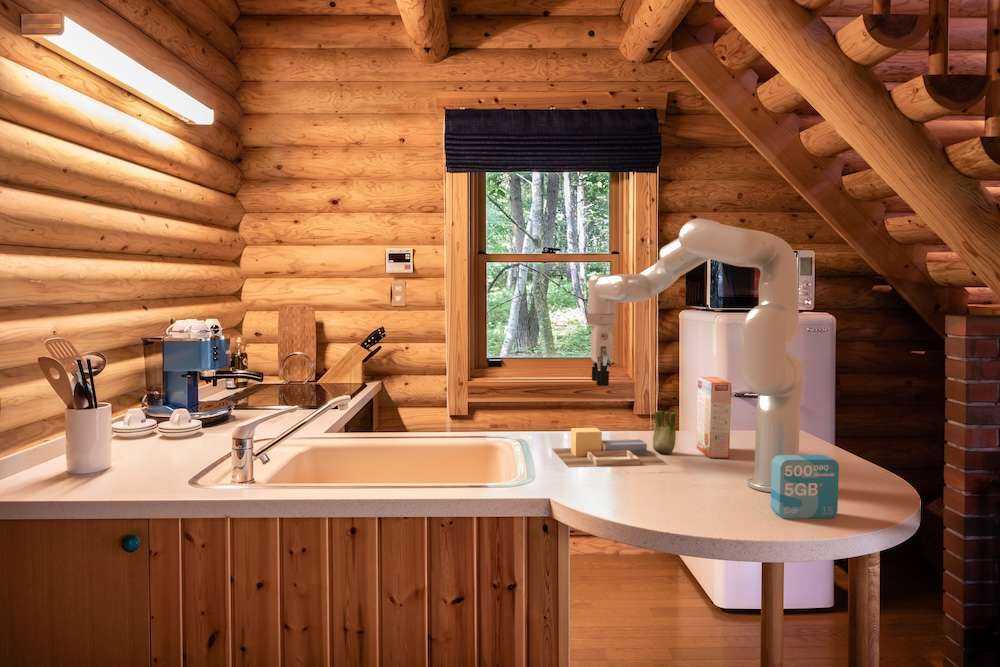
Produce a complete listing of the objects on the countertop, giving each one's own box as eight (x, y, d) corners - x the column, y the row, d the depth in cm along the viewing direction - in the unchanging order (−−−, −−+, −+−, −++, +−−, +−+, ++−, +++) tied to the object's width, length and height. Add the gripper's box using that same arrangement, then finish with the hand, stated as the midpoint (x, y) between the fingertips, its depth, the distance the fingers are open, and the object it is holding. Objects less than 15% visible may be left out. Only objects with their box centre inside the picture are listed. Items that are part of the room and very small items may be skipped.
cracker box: (730, 458, 200) (732, 382, 199) (708, 458, 200) (710, 382, 199) (716, 447, 214) (718, 376, 213) (695, 447, 214) (697, 376, 213)
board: (668, 469, 188) (668, 452, 187) (568, 471, 185) (568, 455, 184) (641, 450, 210) (641, 435, 209) (551, 452, 206) (551, 437, 206)
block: (601, 455, 197) (601, 431, 197) (575, 456, 196) (576, 432, 196) (595, 451, 203) (596, 427, 203) (570, 451, 202) (571, 428, 202)
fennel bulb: (677, 454, 205) (678, 411, 204) (664, 456, 202) (665, 413, 202) (661, 450, 210) (662, 408, 209) (649, 452, 207) (650, 410, 206)
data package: (779, 519, 147) (780, 459, 147) (769, 512, 152) (771, 454, 151) (837, 518, 148) (839, 459, 147) (826, 511, 152) (828, 454, 152)
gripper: (620, 322, 191) (619, 388, 192) (610, 319, 208) (608, 379, 209) (591, 322, 191) (590, 387, 192) (583, 318, 208) (582, 379, 209)
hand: (599, 383), depth 201 cm, fingers open, 9 cm apart
